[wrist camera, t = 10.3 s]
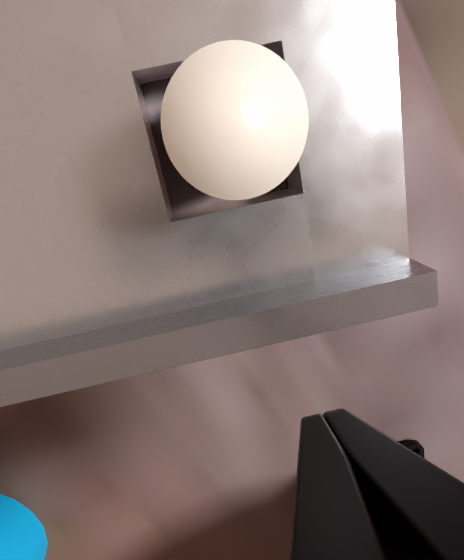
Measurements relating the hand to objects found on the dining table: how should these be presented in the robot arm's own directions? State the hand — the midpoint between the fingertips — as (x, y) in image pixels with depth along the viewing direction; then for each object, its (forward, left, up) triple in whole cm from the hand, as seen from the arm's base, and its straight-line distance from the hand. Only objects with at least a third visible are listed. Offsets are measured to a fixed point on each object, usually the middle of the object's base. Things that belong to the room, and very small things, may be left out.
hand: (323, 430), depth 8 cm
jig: (+6, +3, -12) cm, 14 cm away
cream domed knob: (+6, 0, -12) cm, 13 cm away
